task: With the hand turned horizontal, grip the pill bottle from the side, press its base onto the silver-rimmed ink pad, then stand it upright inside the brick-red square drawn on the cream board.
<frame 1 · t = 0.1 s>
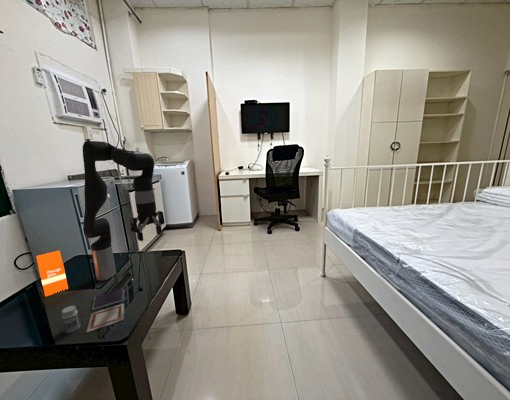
hand: (150, 237, 95), 29 cm above the table, tool pointing down, fingers open, 8 cm apart
marked board: (107, 317, 89), on the table
orange juice: (56, 290, 111), on the table
pill bottle: (72, 329, 83), on the table
ink pad: (109, 299, 100), on the table
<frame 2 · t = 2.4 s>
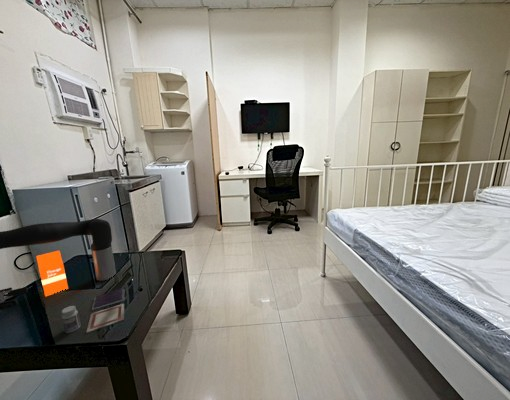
hand: (22, 295, 75), 18 cm above the table, tool horizontal, fingers open, 8 cm apart
nothing on the table moved.
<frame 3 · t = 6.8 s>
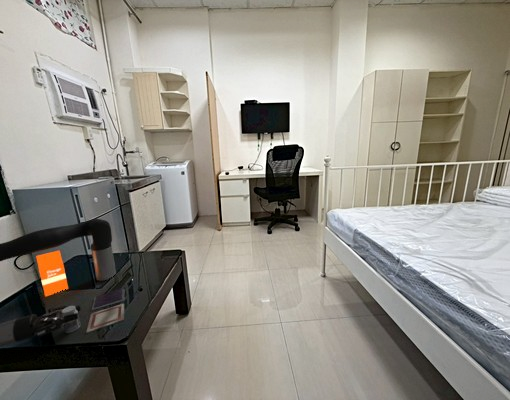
hand: (78, 311, 83), 6 cm above the table, tool horizontal, fingers closed on pill bottle, 4 cm apart
pill bottle: (72, 328, 83), on the table, touching gripper
everything else where it was.
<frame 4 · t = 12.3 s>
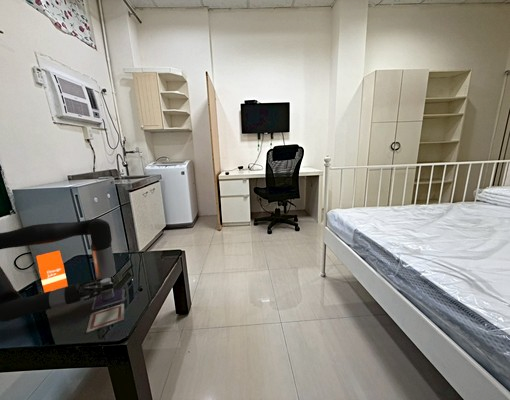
hand: (113, 283, 100), 8 cm above the table, tool horizontal, fingers closed on pill bottle, 4 cm apart
pill bottle: (108, 297, 100), point 1 cm above the table, touching gripper, ink pad
everything else where it was.
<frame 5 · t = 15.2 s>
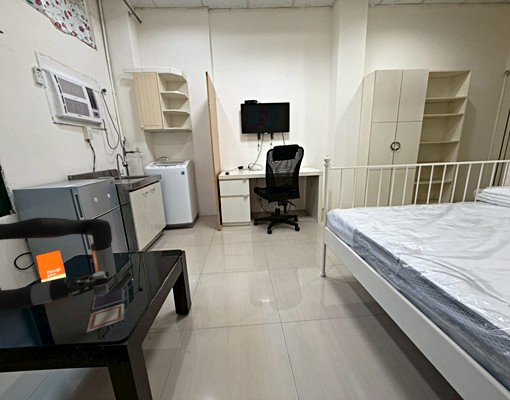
hand: (107, 277, 87), 17 cm above the table, tool horizontal, fingers closed on pill bottle, 4 cm apart
pill bottle: (101, 293, 87), point 11 cm above the table, touching gripper
everything else where it was.
when the fingers open (7 cm above the table, at t = 17.7 s): pill bottle stays where it is, resting on marked board.
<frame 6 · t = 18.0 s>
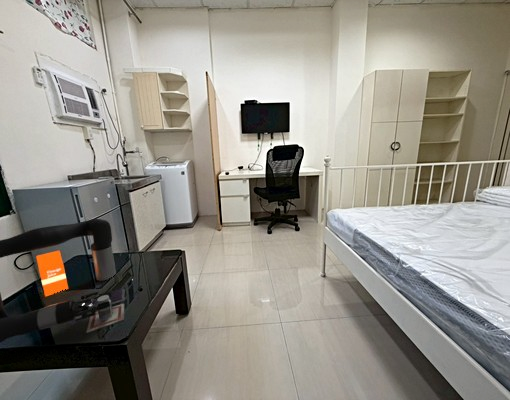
hand: (110, 298, 88), 8 cm above the table, tool horizontal, fingers open, 7 cm apart
pill bottle: (106, 317, 88), resting on marked board
everything else where it was.
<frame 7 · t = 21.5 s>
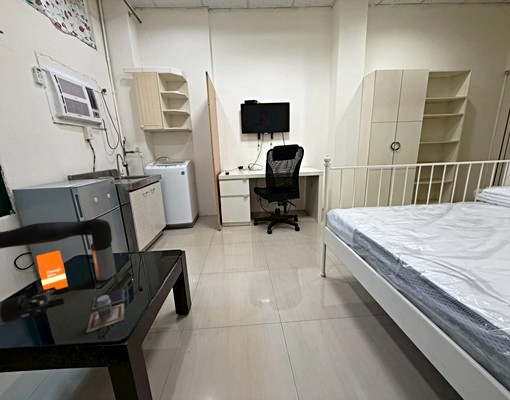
hand: (66, 294, 81), 14 cm above the table, tool horizontal, fingers open, 8 cm apart
nothing on the table moved.
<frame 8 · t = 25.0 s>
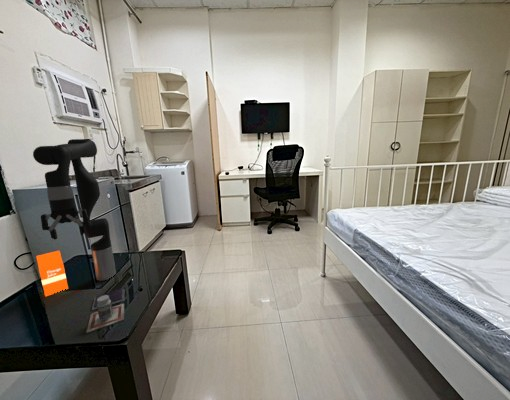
hand: (69, 236, 89), 33 cm above the table, tool pointing down, fingers open, 8 cm apart
nothing on the table moved.
at the end: pill bottle 0.1 cm off-centre on the marked board, point 0.2 cm above the marked board's base; pill bottle tilted 0°; the gripper is holding nothing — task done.
